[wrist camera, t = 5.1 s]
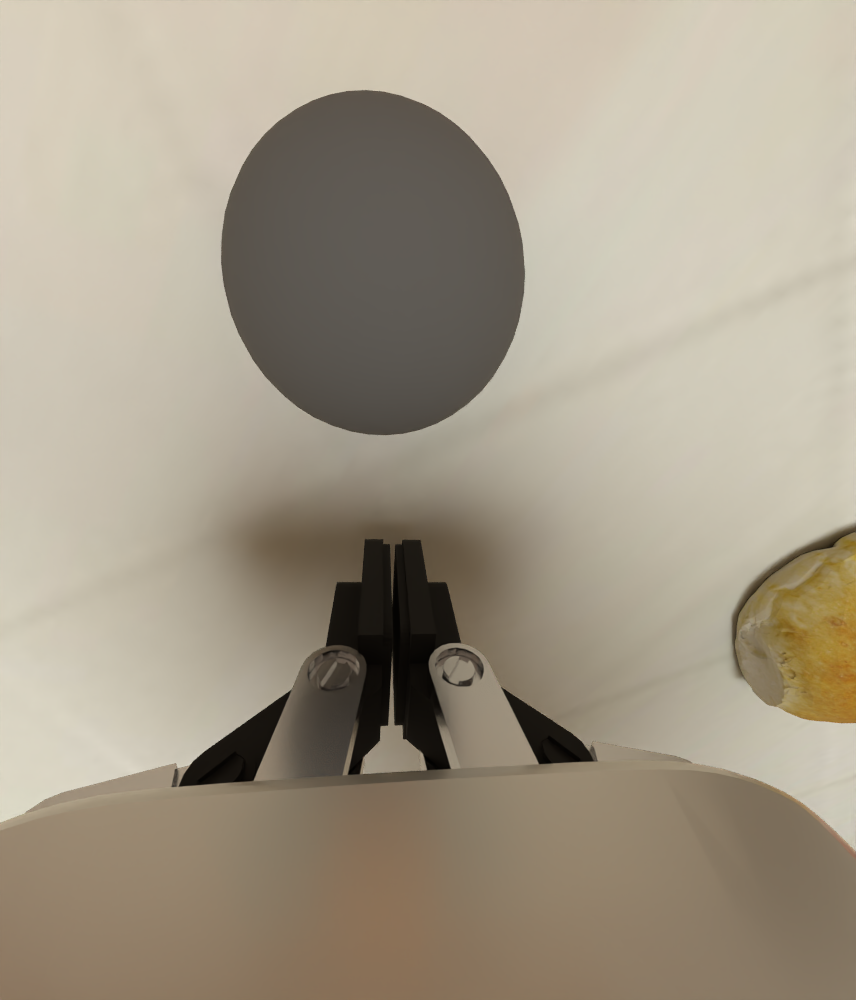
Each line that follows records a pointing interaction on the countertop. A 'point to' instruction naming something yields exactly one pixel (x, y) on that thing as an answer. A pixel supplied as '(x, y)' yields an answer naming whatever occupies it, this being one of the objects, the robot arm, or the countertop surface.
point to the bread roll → (804, 635)
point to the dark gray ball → (372, 262)
